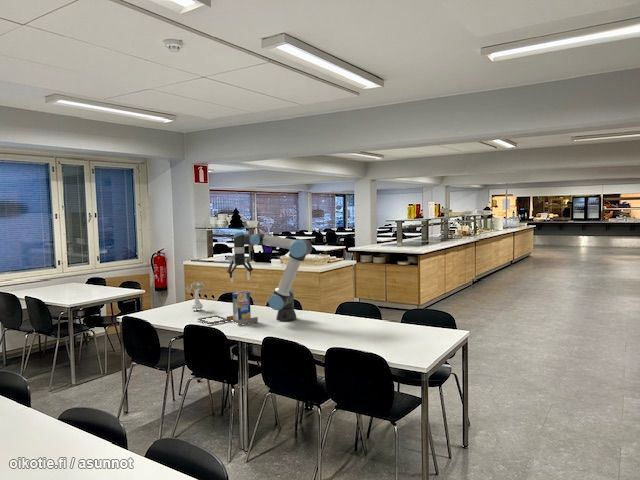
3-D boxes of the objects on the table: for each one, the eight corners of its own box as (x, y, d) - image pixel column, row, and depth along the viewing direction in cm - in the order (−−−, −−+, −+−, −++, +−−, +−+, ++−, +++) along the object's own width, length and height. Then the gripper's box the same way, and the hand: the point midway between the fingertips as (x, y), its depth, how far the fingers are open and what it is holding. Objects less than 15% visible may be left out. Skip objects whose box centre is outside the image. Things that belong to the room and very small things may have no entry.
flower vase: (183, 312, 389) (182, 282, 388) (198, 308, 406) (197, 279, 405) (195, 313, 384) (194, 283, 382) (210, 309, 400) (209, 280, 399)
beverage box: (233, 322, 345) (232, 293, 344) (245, 320, 352) (244, 291, 351) (238, 324, 340) (237, 294, 339) (250, 321, 347) (249, 292, 346)
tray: (228, 321, 348) (228, 319, 348) (208, 325, 338) (208, 322, 338) (217, 317, 364) (217, 315, 364) (197, 321, 354) (197, 318, 354)
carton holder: (257, 322, 344) (257, 317, 343) (238, 326, 334) (238, 320, 334) (245, 318, 358) (245, 313, 358) (226, 321, 348) (226, 316, 348)
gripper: (252, 251, 356) (253, 278, 357) (221, 253, 341) (222, 282, 342) (256, 251, 350) (257, 279, 351) (226, 254, 335) (227, 283, 336)
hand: (240, 281), depth 346 cm, fingers open, 13 cm apart
